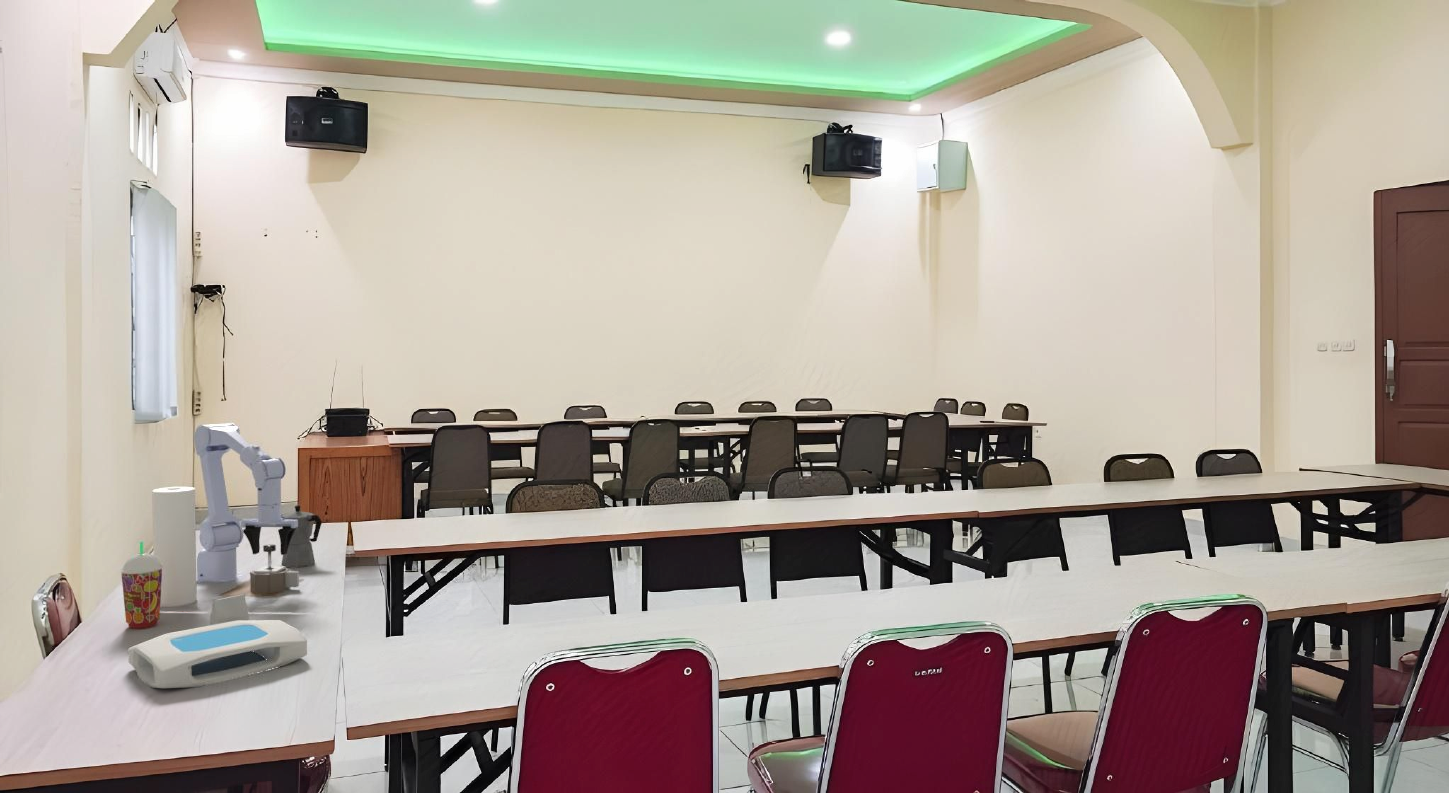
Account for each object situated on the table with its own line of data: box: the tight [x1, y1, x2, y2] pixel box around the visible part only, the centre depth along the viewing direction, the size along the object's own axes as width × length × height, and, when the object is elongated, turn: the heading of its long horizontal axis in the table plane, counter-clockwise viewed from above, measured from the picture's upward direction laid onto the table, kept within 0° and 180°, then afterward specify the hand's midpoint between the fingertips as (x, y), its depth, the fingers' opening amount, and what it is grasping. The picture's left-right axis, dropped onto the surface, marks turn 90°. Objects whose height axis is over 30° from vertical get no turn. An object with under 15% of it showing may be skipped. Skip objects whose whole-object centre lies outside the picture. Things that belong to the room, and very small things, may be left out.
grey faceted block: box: [249, 565, 300, 594], centre depth 257 cm, size 12×9×6 cm
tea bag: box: [209, 594, 250, 626], centre depth 214 cm, size 4×7×10 cm, turn 143°
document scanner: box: [127, 619, 308, 689], centre depth 198 cm, size 21×28×6 cm
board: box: [217, 578, 305, 597], centre depth 259 cm, size 15×18×1 cm
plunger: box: [256, 543, 283, 574], centre depth 257 cm, size 7×7×8 cm
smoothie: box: [120, 541, 163, 630], centre depth 225 cm, size 8×8×20 cm
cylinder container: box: [151, 486, 198, 608], centre depth 243 cm, size 9×9×30 cm
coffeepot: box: [281, 504, 323, 568], centre depth 288 cm, size 15×9×18 cm, turn 70°
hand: (270, 553), depth 257 cm, fingers open, 7 cm apart
